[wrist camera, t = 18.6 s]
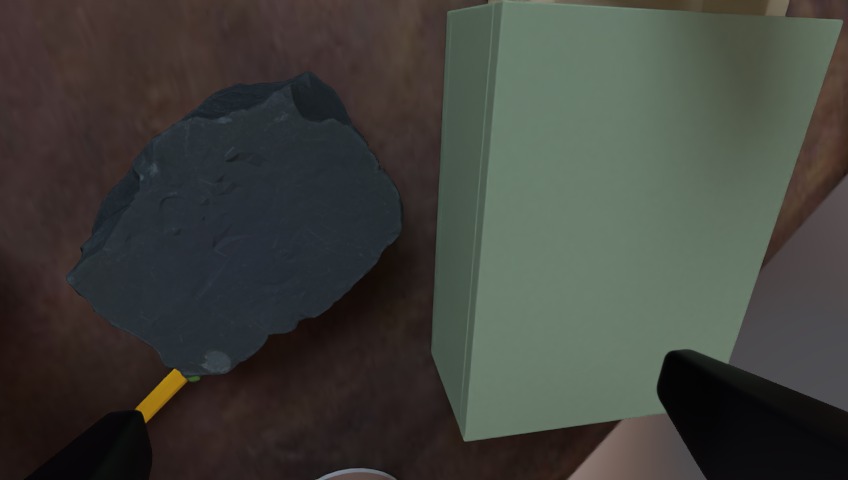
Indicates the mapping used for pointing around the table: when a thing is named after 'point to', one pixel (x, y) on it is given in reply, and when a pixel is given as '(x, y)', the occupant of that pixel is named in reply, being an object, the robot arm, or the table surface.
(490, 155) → the cabinet
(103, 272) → the stone
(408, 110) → the table surface
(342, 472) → the coffee cup
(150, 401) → the pencil
